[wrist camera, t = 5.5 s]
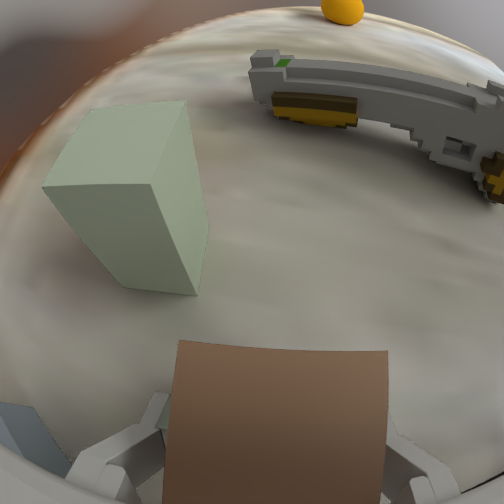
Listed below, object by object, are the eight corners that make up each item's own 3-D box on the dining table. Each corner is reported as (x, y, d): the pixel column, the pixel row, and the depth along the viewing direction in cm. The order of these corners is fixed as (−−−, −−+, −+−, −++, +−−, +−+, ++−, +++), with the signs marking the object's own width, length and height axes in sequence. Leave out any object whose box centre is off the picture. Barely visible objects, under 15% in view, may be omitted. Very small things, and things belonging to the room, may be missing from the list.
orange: (364, 24, 42) (369, -7, 35) (357, 32, 39) (363, -4, 32) (325, 14, 44) (329, -17, 37) (314, 20, 40) (317, -14, 34)
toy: (507, 213, 19) (550, 127, 11) (263, 164, 27) (241, 65, 19) (496, 173, 21) (526, 92, 13) (280, 130, 29) (264, 43, 21)
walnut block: (221, 377, 14) (179, 340, 6) (311, 383, 14) (387, 350, 6) (212, 462, 12) (160, 530, 4) (305, 467, 12) (373, 534, 4)
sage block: (142, 223, 18) (90, 109, 11) (209, 226, 18) (185, 100, 10) (123, 287, 16) (40, 186, 8) (197, 296, 16) (150, 183, 8)
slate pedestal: (36, 407, 13) (-7, 400, 9) (131, 526, 10) (101, 550, 6) (-18, 465, 9) (-55, 463, 6) (59, 566, 6) (28, 583, 3)
